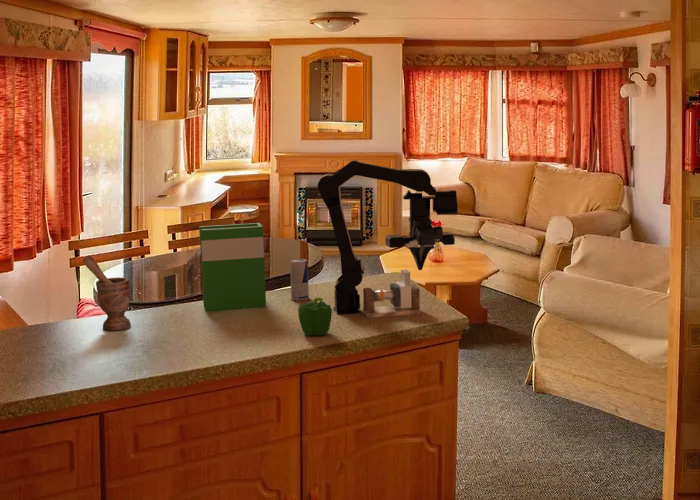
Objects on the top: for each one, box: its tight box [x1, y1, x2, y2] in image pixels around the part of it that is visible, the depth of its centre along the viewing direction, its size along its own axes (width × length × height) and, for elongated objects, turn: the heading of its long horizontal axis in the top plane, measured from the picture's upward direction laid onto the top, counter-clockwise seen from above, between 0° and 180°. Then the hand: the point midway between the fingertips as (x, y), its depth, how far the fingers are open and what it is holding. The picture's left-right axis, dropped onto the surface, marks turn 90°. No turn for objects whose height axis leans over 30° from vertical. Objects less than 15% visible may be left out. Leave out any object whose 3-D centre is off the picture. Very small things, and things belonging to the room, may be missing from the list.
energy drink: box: [289, 258, 310, 302], centre depth 235 cm, size 5×5×12 cm
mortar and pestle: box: [82, 255, 132, 331], centre depth 207 cm, size 12×9×20 cm
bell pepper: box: [297, 297, 332, 337], centre depth 198 cm, size 8×8×10 cm
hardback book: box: [198, 222, 267, 313], centre depth 226 cm, size 18×7×24 cm, turn 104°
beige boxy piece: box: [394, 269, 412, 308], centre depth 218 cm, size 3×6×10 cm, turn 11°
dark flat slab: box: [389, 282, 399, 307], centre depth 218 cm, size 1×6×6 cm, turn 11°
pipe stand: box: [362, 284, 421, 318], centre depth 218 cm, size 15×7×7 cm, turn 101°
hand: (419, 270), depth 218 cm, fingers closed
